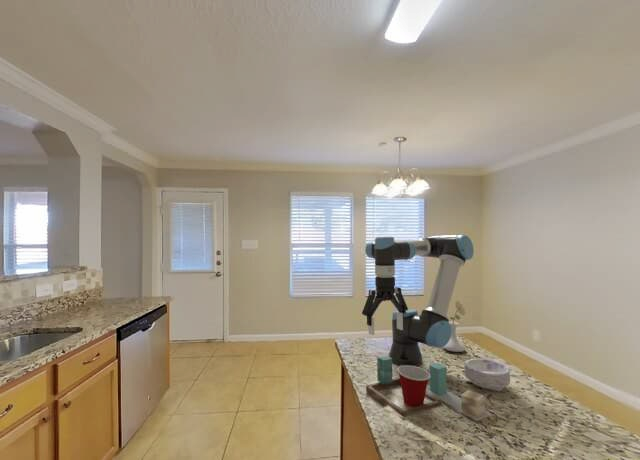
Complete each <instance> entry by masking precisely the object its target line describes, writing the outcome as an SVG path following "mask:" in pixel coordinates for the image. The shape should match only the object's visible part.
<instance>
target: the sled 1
mask: <svg viewBox="0 0 640 460" xmlns="http://www.w3.org/2000/svg"><path fill="white" fill-rule="evenodd" d="M376 358H377V359H376V360H377V361H376V363H377V364H376V367H377V368H376V371H377V372H376V373H377V375H376V377H377V382H375V383H371V384H367V385H365V391H366V392H367V393H368V394H370V396H371V397H373V398H374V399H376V400H377V401H378V402H379V403H381V404H382V405H383V406H385V407H387V406H389V407H391V409H393V410H395V411H396V412H398V414H400V415H401V416H400V415H398V417H399V418H400V419H402V420H403V421H406V418H404V417H405V416H409V415H412V414H415V413H419V412H422V411H424V410H428V409H430V408H433V407H437V406H440V405H442V404H443V403H442V400H441V399H439V398H438V399H437V397H436V396H434V395H433V396H432V394H430V393H429V392H427V391H426V394H425V398H428V399H430V402H427V403H424V405H420V406H417V407H411V408H408V409H405V410H404V409H403V408H402V407H400V406H398V405H397V404H396V403H394V402H393V401H392V400H391V399H389V398H388V397H386V396H385V395H384V394H383V393H380V392H379V391H378V390H383V389H387V388H389V387H390V388H391V387H393V386H399V385H401V381H400V377H395V378H393V362H392V358H390V357H389V355H387V354H384V355H380V356H379V355H378V356H377V357H376Z"/></svg>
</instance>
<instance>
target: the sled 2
mask: <svg viewBox="0 0 640 460" xmlns="http://www.w3.org/2000/svg"><path fill="white" fill-rule="evenodd" d="M429 373H430V375H431V377H430V378H429V390H426V392H427V393H429V394H431V395H433V396H434V397H436V398H438V399H439V400H441V401H443V402H444V403H446V404H448V405H449V406H451V407H453V408H455V409H456V410H458V411H460V412H461V413H463V414H465V415H466V416H468V417H470V418H471V419H473V420H475V421H476V422H478V421H480V420H484V419H486V418H489V417H491V416H492V414H491V413H489V412H487V411H486V410H485V412H484V413H483V414H482V415H481V416H480V417H475V416H473V415H471V414H468V413H466V412H463V411H462V402H461V397H460V396H458V395H456V394H455V393H453V392H451V391H448V390H447V389H448V388H447V387H448V385H447V383H448V382H447V366H445V365H442V364H440V363H439V362H437V363H433V364H430V365H429Z"/></svg>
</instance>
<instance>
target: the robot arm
mask: <svg viewBox="0 0 640 460" xmlns="http://www.w3.org/2000/svg"><path fill="white" fill-rule="evenodd" d="M364 249H365V255H366V256H367V257H368V258H370V259H373V260H374V263H375V264H374V275H375V278H374V279H375V281H374V282H375V283H374V285H375V287H376V288H375V289H368V296H367V299H366V301H365V304H364V306H363V309H362V312H361V314H362V316H365V317H366V325H367V326H368V330H367V332H368V334H369V335H372V336H375V316H374V314H375V313H376V311H377V309H378V308H379V306H380V305H381V304H382V303H383V302H387V301H390V302H391V303H392V304H393V305H394V307H395V309H396V310H395V311H393V312H392V319H391V321H392V323H391V328H392V333H391V334H392V344H391V345H390V346H391V347H390V349H389V353H388V357H390V358H392V363H393V364H395V365H396V364H397V365H399V366H404V365H410V366H418V365H422V364H423V355H422V353H421V349H420V346H419V345H420V344H419V343H421V344H423V345H426V346H428V347H433V348H437V349H440V348H443V346H445V345H446V344H447V343H448V342H449V340H450V338H451V334H452V331H451V329H452V328H451V325H450V323H449V322H450V318H449V317H448V315H447V314H448V311H449V307H450V305H451V300H452V297H453V294H454V290H455V287H456V286H455V285H456V283H457V279H458V275H459V272H460V269H461V267H463V266H465V265H466V261H468V260H471V259H472V258H473V256H474V252H475V251H474V245H473V242H472V239H471V238H470V237H469V236H468V235H465V234H450V235H449V234H447V235H446V234H444V235H443V234H442V235H441V234H439V235H432V236H425V237H418V239H414V240H413V239H411V240H410V239H409V240H407V239H405V240H395V238H394V236H377V237H375V239H374V241H370V242H368V243H367V244H366V245H365V248H364ZM415 256H419V257H422V258H423V257H424V258H425V257H427V258H428V257H429V258H435V259H439V261H440V264H439V267H438V270H437V274H436V276H435V281H434V283H433V286H432V290H431V293H430V295H429V296H430V297H429V299H428V303H427V305H426V307H425V308H424V309H422V310H421V313H420V314H419V312H418V310H417V309H409V308H408V305H407V303H406V301H405V298H404V296H403V293H402V288H401V287H398V286H396V277H395V275H396V265H395V264H396V262H395V261H401V260H402V261H403V260H404V261H408V260H411V259H413V258H414V257H415ZM395 286H396V287H395Z"/></svg>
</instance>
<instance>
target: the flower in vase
mask: <svg viewBox="0 0 640 460" xmlns="http://www.w3.org/2000/svg"><path fill="white" fill-rule="evenodd" d="M454 304H455V308H456V311H455V314H454V317H453V316H450V318H449V320H452V321H449V323H450V325H451V328H452V329H451V331H452V334H451V338H450V340H449V342H448V343H447V344H446V345H445V346H443V347H442V348H443V349H445V350H446V351H448V352H453V353H455V352H456V353H459V352H465V350H466V346H465V344H464V343H463V342H462V341H460V339H458V337H457V331H456V329H457V326H458V325H459V322H456V321H455V320H461V317H460V315H461V316H465V314H466V309H465V307H464V306H463V303H461V302H460V301H459V300H456V301H455V302H454ZM457 312H458V313H459V314H460V315H458V314H457Z"/></svg>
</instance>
